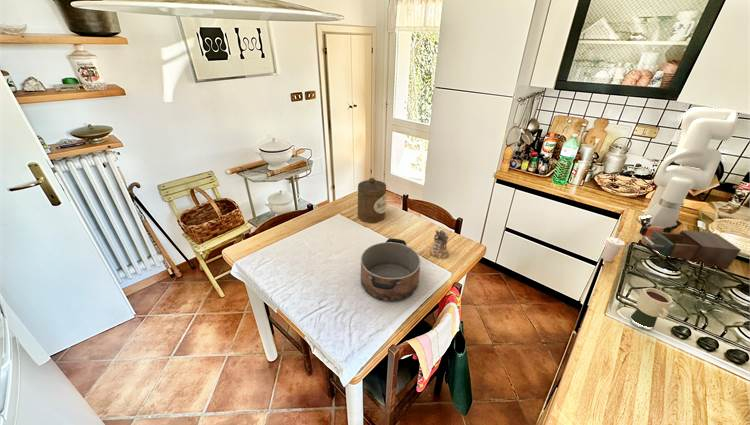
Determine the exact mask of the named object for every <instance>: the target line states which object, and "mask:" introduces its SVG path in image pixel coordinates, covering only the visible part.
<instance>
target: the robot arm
mask: <svg viewBox="0 0 750 425" xmlns="http://www.w3.org/2000/svg"><path fill="white" fill-rule="evenodd" d="M738 122H739V112H738V111H737V110H734V109H727V108H716V107H705V106H696V107H695V106H694V107H690V108H689V109H687V110H686V111H685V112H684V114H683V117H682V120H681V127H680V128H681V137H680V139H679V142H678V144H677V146H676V149H675V152H674V153H672V154H670V155H668V156H667V157H666V158H664V159H663V160H662V161H661V163H660V164H659V166H658V168H657V171H656V173H655V175H654V178H653V184H655V185H656V190H655V192H654V193H653V195H652V197H651V200H650V201H649V203H648V205H647V207H646V208H645V209H642V210H641V212H642V215H639V216H638V218H637V220H638V222H639V223H640V226H641V228H640V230H639V232H638V233H639V234H640V235H641V236H642V237H643V236H645V234H646V232H647V230H648V229H647V228H648V227H658V228H659V229H661V230H662V231H663V232H665V233H672V232H673V231H674V230H675V229H678V227H680V226H681V225H682V224H683V223H682V222H681V221H680V220H678V219H679V215H680V213H681V207H682V206H684V205H685V203H684V201H685V199H686V197H687V195H688V194H689V192H690V190H695V191H705V190H706V189H708V188H709V187H710V185H711V183H712V181H713V179H714V176H715V174H716V171H717V169H718V166H719V164H720V162H721V159H722V153H721V151H720V150H719V149H715V148H710V147H709V144H710V142H711V140H715V141H722V142H723V141H728V140H730V139H731V138H732V137H733V135H734V134H735V133H736V130H737V127H738ZM671 163H675V165H674V164H673V165H670V164H671Z"/></svg>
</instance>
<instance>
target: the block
mask: <svg viewBox="0 0 750 425" xmlns="http://www.w3.org/2000/svg"><path fill="white" fill-rule="evenodd" d="M647 229H648V230H647V232H646V234H645V236H646V237H649V238H651V236H652V234H653V232H654V230H657V231H659V232H660V233H662V232H663V229H660V228H658V227H648V228H647Z"/></svg>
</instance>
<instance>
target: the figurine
mask: <svg viewBox="0 0 750 425" xmlns="http://www.w3.org/2000/svg"><path fill="white" fill-rule="evenodd" d="M448 239H449V236H448V234H447V232H446V231H445V230H443V229H441V230H438V229H437V230H435V234H434V237H433V242H432V244H431V249H430V254H431V256H432V257H434V258H436V259H444V258H446V257H448V246H447V244H449V243H448Z"/></svg>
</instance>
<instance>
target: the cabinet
mask: <svg viewBox="0 0 750 425" xmlns="http://www.w3.org/2000/svg"><path fill="white" fill-rule="evenodd" d="M678 234H684V235H685V236H687V237H688V238H689V239H691V240H692V241H693V242H695V243H696V244H697V245H699V246H700V248H699V250H698V251H697V253H696V254H695V256H694V257H693V259H692V260H691V261H692V262H699V261H700V260H701V259H702V260H703V263H704V266H703V267H706V266H708V267H707V268H714V267H713V265H714V264H717V265H718V267H719V268H718V269H726V270H728V269H729V267H731V264H732V263H733V262H734V260H735V259H736V258H737V256H738V255H739V254H740V252H741V251H742V249H740V248H739V247H737V246H736V245H734V244H733V243H731V242H730V241H728V240H727V239H725V238H724V237H722V236H721V235H719V234H718V233H715V232H705V231H704V232H703V231H693V230H683V229H682V230H680V232H679V233H678ZM689 261H690V260H689Z"/></svg>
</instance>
